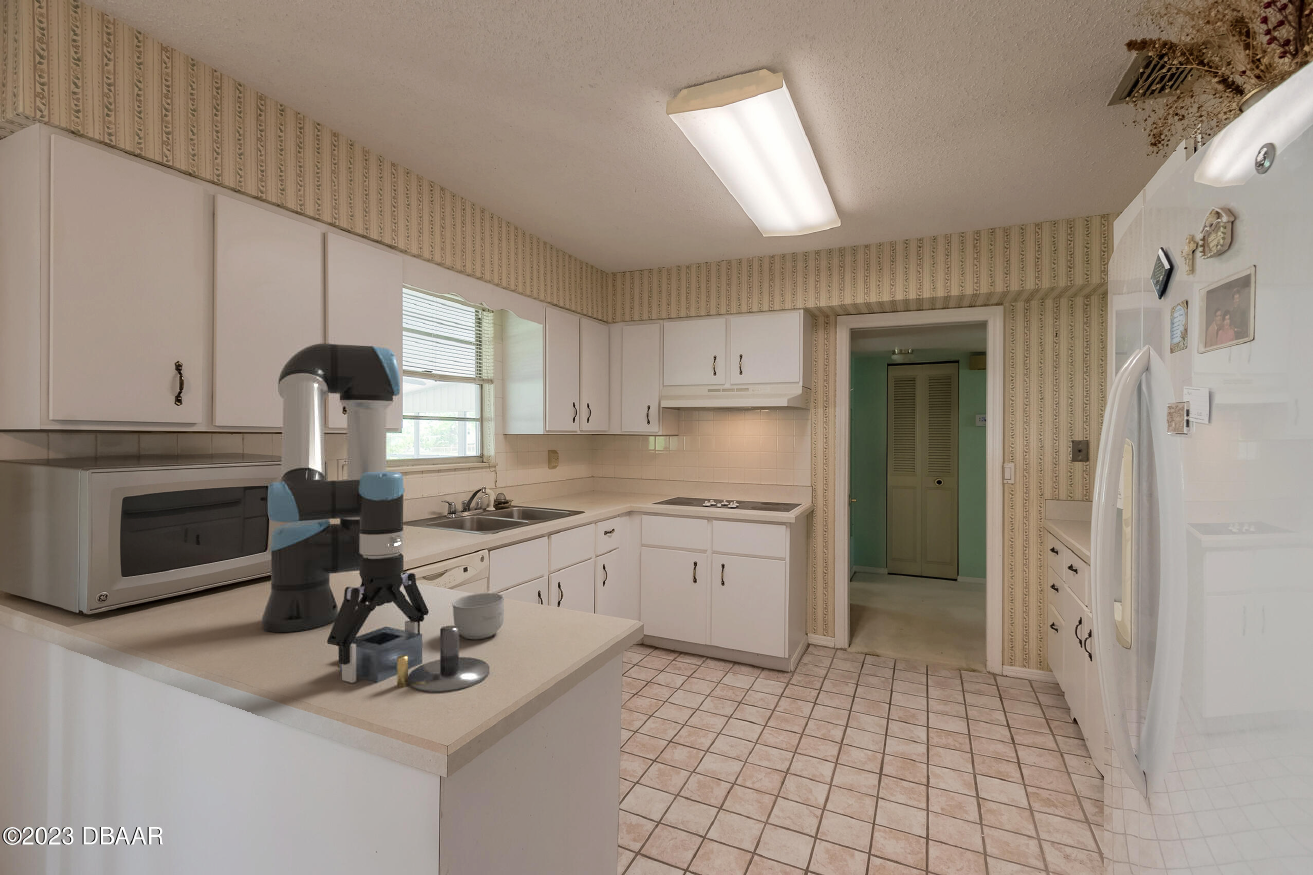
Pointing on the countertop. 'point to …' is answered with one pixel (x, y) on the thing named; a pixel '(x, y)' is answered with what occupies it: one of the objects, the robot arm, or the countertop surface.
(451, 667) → the rod on disc base
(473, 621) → the teacup
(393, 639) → the grey hollow block
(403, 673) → the dowel pin
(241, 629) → the countertop surface
